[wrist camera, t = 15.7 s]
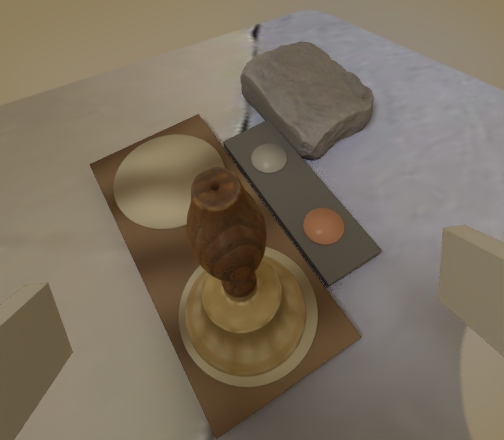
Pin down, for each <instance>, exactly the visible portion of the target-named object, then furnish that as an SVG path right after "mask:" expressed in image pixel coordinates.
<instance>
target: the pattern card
mask: <svg viewBox="0 0 504 440" xmlns="http://www.w3.org/2000/svg"><path fill="white" fill-rule="evenodd" d="M223 143H224V148H225V149H226V150H227V152H228V153H229V154H230V156H231V157H232V158H233V160H234V161H235V163H236V164H237V165H238V167H239V168H240V169H241V171H242V172H243V173H244V175H245V176H246V178H247V179H248V180H249V182H250V183H251V184H252V186H253V187H254V188H255V190H256V191H257V193H258V194H259V195H260V197H261V198H262V199H263V201H264V202H265V203H266V205H267V206H268V208H269V209H270V210H271V212H272V213H273V214H274V216H275V217H276V218H277V220H278V221H279V223H280V224H281V225H282V227H283V228H284V229H285V231H286V232H287V233H288V235H289V236H290V237H291V239H292V240H293V242H294V243H295V244H296V246H297V247H298V248H299V250H300V251H301V252H302V254H303V255H304V257H305V258H306V259H307V261H308V262H309V263H310V265H311V266H312V267H313V269H314V270H315V272H316V273H317V274H318V276H319V277H320V278H321V280H322V281H323V282H324V284H325V285H326V287H327V288H328V287H329V286H331V285H332V284H334V283H335V282H337V281H338V280H340V279H341V278H343V277H345V276H346V275H348V274H349V273H351V272H352V271H354V270H355V269H357V268H358V267H360V266H362V265H363V264H365V263H366V262H368V261H369V260H371V259H372V258H374V257H375V256H377V255H379V253H380V252H381V251H382V250H381V249H380V248H379V247H378V246H377V244H376V243H375V242H374V241H373V240H372V239H371V237H370V236H369V235H368V234H367V233H366V232H365V231H364V229H363V228H362V227H361V226H360V225H359V224H358V222H357V221H356V220H355V219H354V218H353V217H352V215H351V214H350V213H349V212H348V211H347V210H346V209H345V207H344V206H343V205H342V204H341V203H340V202H339V200H338V199H337V198H336V197H335V196H334V195H333V193H332V192H331V191H330V190H329V189H328V188H327V187H326V185H325V184H324V183H323V182H322V181H321V180H320V178H319V177H318V176H317V175H316V174H315V173H314V171H313V170H312V169H311V168H310V167H309V166H308V165H307V163H306V162H305V161H304V160H303V159H302V158H301V156H300V155H299V154H298V153H297V152H296V151H295V149H294V148H293V147H292V146H291V145H290V144H289V143H288V141H287V140H286V139H285V138H284V137H283V136H282V134H281V133H280V132H279V131H278V130H277V129H276V127H275V126H274V125H273V124H272V123H271V122H270V121H269V119H268V120H266V121H264V122H262V123H260V124H258V125H256V126H254V127H252V128H250V129H248V130H246V131H244V132H242V133H240V134H238V135H236V136H234V137H232V138H230V139H228V140H226V141H224V142H223Z"/></svg>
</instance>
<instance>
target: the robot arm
mask: <svg viewBox="0 0 504 440" xmlns="http://www.w3.org/2000/svg"><path fill="white" fill-rule="evenodd" d="M438 300H439V301H440V302H442V303H443V304H444V305H445V306H446V307H447V308H448V309H450V310H451V311H452V312H453V313H454V314H455V315H456V316H458V317H459V318H460V319H461V320H462V321H463V322H465V323H466V324H467V325H468V326H469V327H470V328H471V329H473V330H474V331H475V332H476V333H477V334H478V335H480V336H481V337H482V338H483V339H484V340H485V341H486V342H487V343H489V344H490V345H491V346H492V347H493V348H494V349H495V350H497V351H498V352H499V353H500V354H501V355H502V356H504V242H501V241H499V240H497V239H495V238H493V237H490V236H488V235H486V234H484V233H482V232H480V231H477V230H475V229H473V228H471V227H469V226H466V225H462V226H454V227H447V228H443V235H442V250H441V265H440V280H439V295H438ZM72 353H73V351H72V349H71V346H70V343H69V340H68V337H67V334H66V332H65V329H64V326H63V323H62V320H61V318H60V315H59V312H58V309H57V306H56V303H55V301H54V298H53V295H52V292H51V289H50V286H49V284H48V283H41V284H34V285H27V286H23V287H22V288H21V289H20V290H19V291H17V292H16V293H15V294H14V295H12V296H11V297H10V298H9V299H8V300H6V301H5V302H4V303H3V304H1V305H0V440H14V439H15V438H16V436H17V435H18V433H19V432H20V430H21V429H22V427H23V426H24V424H25V423H26V421H27V420H28V418H29V417H30V415H31V414H32V412H33V411H34V409H35V408H36V406H37V405H38V403H39V402H40V400H41V399H42V397H43V396H44V394H45V393H46V391H47V390H48V388H49V387H50V385H51V384H52V383H53V381H54V380H55V378H56V377H57V375H58V374H59V372H60V371H61V369H62V368H63V366H64V365H65V363H66V362H67V360H68V359H69V357H70V356H71V354H72Z"/></svg>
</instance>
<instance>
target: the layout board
mask: <svg viewBox="0 0 504 440" xmlns="http://www.w3.org/2000/svg"><path fill="white" fill-rule="evenodd" d="M90 166H91V169H92V171H93V173H94V175H95V177H96V179H97V182H98V184H99V186H100V188H101V190H102V192H103V195H104V197H105V199H106V201H107V203H108V205H109V208H110V210H111V212H112V214H113V216H114V218H115V221H116V223H117V225H118V227H119V229H120V231H121V234H122V236H123V238H124V240H125V242H126V244H127V247H128V249H129V251H130V253H131V255H132V257H133V260H134V262H135V264H136V266H137V268H138V270H139V273H140V275H141V277H142V279H143V281H144V283H145V286H146V288H147V290H148V292H149V294H150V296H151V299H152V301H153V303H154V305H155V307H156V309H157V312H158V314H159V316H160V318H161V320H162V322H163V325H164V327H165V329H166V331H167V333H168V335H169V338H170V340H171V342H172V344H173V346H174V348H175V351H176V353H177V355H178V357H179V359H180V361H181V364H182V366H183V368H184V370H185V372H186V374H187V377H188V379H189V381H190V383H191V385H192V387H193V390H194V392H195V394H196V396H197V398H198V400H199V403H200V405H201V407H202V409H203V411H204V413H205V416H206V418H207V420H208V422H209V424H210V426H211V429H212V431H213V433H214V435H215V437H216V439H217V438H219V437H220V436H222V435H223V434H224V433H226V432H227V431H229V430H230V429H231V428H233V427H234V426H236V425H237V424H239V423H240V422H241V421H243V420H244V419H246V418H247V417H248V416H250V415H251V414H253V413H254V412H256V411H257V410H258V409H260V408H261V407H263V406H264V405H266V404H267V403H268V402H270V401H271V400H273V399H274V398H275V397H277V396H278V395H280V394H281V393H283V392H284V391H285V390H287V389H288V388H290V387H291V386H292V385H294V384H295V383H297V382H298V381H300V380H301V379H302V378H304V377H305V376H307V375H308V374H309V373H311V372H312V371H314V370H315V369H317V368H318V367H319V366H321V365H322V364H324V363H325V362H326V361H328V360H329V359H331V358H332V357H334V356H335V355H336V354H338V353H339V352H341V351H342V350H344V349H345V348H346V347H348V346H349V345H351V344H352V343H353V342H355V341H356V340H358V339H359V338H361V336H360V335H359V333H358V332H357V331H356V329H355V328H354V327H353V325H352V324H351V322H350V321H349V320H348V318H347V317H346V316H345V314H344V313H343V311H342V310H341V309H340V307H339V306H338V305H337V303H336V302H335V301H334V299H333V298H332V296H331V295H330V294H329V292H328V291H327V290H326V288H325V287H324V285H323V284H322V283H321V281H320V280H319V279H318V277H317V276H316V274H315V273H314V272H313V270H312V269H311V268H310V266H309V265H308V264H307V262H306V261H305V259H304V258H303V257H302V255H301V254H300V253H299V251H298V250H297V248H296V247H295V246H294V244H293V243H292V242H291V240H290V239H289V238H288V236H287V235H286V233H285V232H284V231H283V229H282V228H281V227H280V225H279V224H278V222H277V221H276V220H275V218H274V217H273V216H272V214H271V213H270V212H269V210H268V209H267V207H266V206H265V205H264V203H263V202H262V201H261V199H260V198H259V196H258V195H257V194H256V192H255V191H254V190H253V188H252V187H251V185H250V184H249V183H248V181H247V180H246V179H245V177H244V176H243V175H242V173H241V172H240V170H239V169H238V168H237V166H236V165H235V164H234V162H233V161H232V159H231V158H230V157H229V155H228V154H227V153H226V151H225V150H224V149H223V147H222V146H221V144H220V143H219V142H218V140H217V139H216V138H215V136H214V135H213V133H212V132H211V131H210V129H209V128H208V127H207V125H206V124H205V123H204V121H203V120H202V118H201V117H200V116H199V114H198V115H195V116H193V117H191V118H189V119H187V120H185V121H182V122H180V123H178V124H176V125H174V126H172V127H169V128H167V129H165V130H163V131H161V132H159V133H156V134H154V135H152V136H150V137H148V138H146V139H143V140H141V141H139V142H137V143H135V144H133V145H130V146H128V147H126V148H124V149H122V150H120V151H117V152H115V153H113V154H111V155H109V156H107V157H105V158H102V159H100V160H98V161H96V162H94V163H92V164H90ZM213 167H224V168H227V169H229V170H231V171H232V172H234V173H235V174H236V175H237V176H238V178H239V180H240V181H241V183H242V186H243V187H244V189H245V190H246V191H247V192H248V193H249V194H250V195H251V196H252V198H253V199H254V200H255V202H256V203H257V205H258V206H259V208H260V210H261V212H262V214H263V217H264V219H265V224H266V233H267V239H266V249H265V253H264V255H265V256H267V257H270V258H272V259H274V260H276V261H277V262H279V263H281V264H282V265H283V266H285V267H286V268H287V269H288V270H289V271H290V272H291V273H292V275H293V276H294V277H295V279H296V280H297V282H298V283H299V285H300V287H301V290H302V292H303V295H304V299H305V303H306V323H305V329H304V332H303V335H302V338H301V340H300V343H299V345H298V347H297V348H296V349H295V350H294V352H293V353H292V355H291V356H290V357H289V358H288V359H287V360H286V361H285V362H284V363H282V364H281V365H280V366H278V367H277V368H275V369H273V370H271V371H269V372H267V373H265V374H261V375H257V376H249V377H240V376H234V375H229V374H226V373H223V372H221V371H219V370H217V369H215V368H213V367H212V366H210V365H209V364H207V363H206V362H205V361H204V360H203V359H202V358H201V357H200V356H199V354H198V353H197V352H196V350H195V349H194V347H193V345H192V343H191V341H190V339H189V336H188V333H187V329H186V323H185V308H186V303H187V298H188V295H189V292H190V290H191V288H192V286H193V284H194V282H195V281H196V279H197V278H198V277H199V275H200V274H201V273H202V272H203V271H204V269H203V268H202V266H201V265H200V264H199V263H198V261H197V260H196V258H195V256H194V254H193V252H192V250H191V248H190V245H189V243H188V239H187V233H186V224H187V214H188V210H189V207H190V203H191V186H192V184H193V181H194V179H195V177H196V176H197V175H198V174H200V173H202V172H203V171H206V170H208V169H210V168H213Z"/></svg>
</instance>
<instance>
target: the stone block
mask: <svg viewBox="0 0 504 440" xmlns="http://www.w3.org/2000/svg"><path fill="white" fill-rule="evenodd" d="M241 84H242V94H243V96H244V97H245V99H246V100H247V101H248V102H249V103H250V104H251V105H252V107H253V108H254V109H255V110H256V111H257V112H258V113H259V114H260V115H261V116H262V117H263V118H264V119H265V120H268V119H269V121H270V122H271V123H272V124H273V125H274V126H275V127H276V129H277V130H278V131H279V132H280V133H281V134H282V136H283V137H284V138H285V139H286V140H287V141H288V143H289V144H290V145H291V146H292V147H293V148H294V149H295V151H296V152H297V153H298V154H299V155H300V156H301V158H307V159H309V160H314V159H316V158H319V157H320V156H322V155H323V154H324V153H326V152H327V150H328V149H330V148H331V147H332V146H333V145H334V144H335V143H336V142H337V141H339V140H341V139H344V138H346V137H350V136H352V135H353V134H355V133H357V132H359V131H360V130H361V129H362V128H363V127H364V126H365V124H366V122H367V121H368V120H369V118H370V116H371V114H372V111H373V101H374V97H373V94H372V90H371V89H370V88H368V87H366V86H364V85H363V84H362V83H361V82H360V79H359V78H358V77H357V76H356V75H354V74H353V73H351V72H347V71H346V70H345V69H344V68H343V67H342V66H341V65H340V64H338V63H337V62H336V61H333V60H331V58H330V57H329V55H328V54H326V53H325V52H324V51H323V50H321V49H320V48H318V47H317V46H316V45H314V44H312V43H308V42H298V43H294V44H290V45H284V46H280V47H278V48H277V49H275V50H273V51H268V52H265V53H263V54H261V55H258V56H256V57H255V58H253V59H252V60H251V61H249V62H248V63H247V64H246V66H245V67H244V69H243V72H242V74H241Z"/></svg>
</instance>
